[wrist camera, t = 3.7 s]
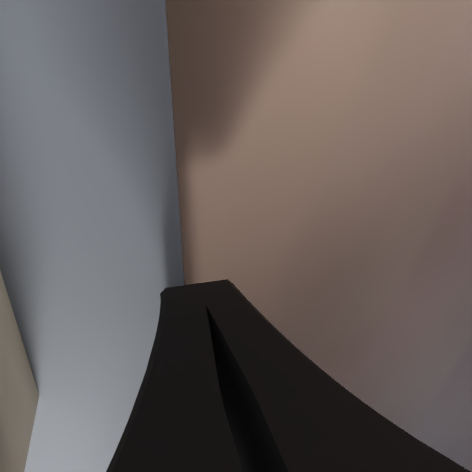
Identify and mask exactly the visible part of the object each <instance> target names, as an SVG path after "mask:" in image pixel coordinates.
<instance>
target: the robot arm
mask: <svg viewBox="0 0 472 472" xmlns="http://www.w3.org/2000/svg"><path fill="white" fill-rule="evenodd" d="M160 299H161V303H160V314H159V321H158V326H157V331H156V335H155V340H154V343H153V347H152V350H151V354H150V358H149V361H148V365H147V368H146V372H145V375H144V378H143V381H142V383H141V386H140V389H139V392H138V395H137V397H136V400H135V403H134V406H133V409H132V411H131V414H130V417H129V419H128V422H127V424H126V427H125V429H124V432H123V434H122V437H121V439H120V441H119V444H118V446H117V448H116V451H115V453H114V455H113V457H112V460H111V462H110V464H109V466H108V469H107V471H106V472H470V471H469V470H467V469H465V468H464V467H462V466H460V465H459V464H457V463H455V462H454V461H452V460H450V459H449V458H447V457H445V456H444V455H442V454H440V453H439V452H437V451H435V450H434V449H432V448H431V447H429V446H427V445H426V444H424V443H422V442H421V441H419V440H417V439H416V438H414V437H413V436H411V435H410V434H408V433H407V432H405V431H404V430H402V429H401V428H399V427H398V426H396V425H395V424H393V423H392V422H390V421H389V420H387V419H386V418H385V417H383V416H382V415H380V414H379V413H378V412H376V411H375V410H373V409H372V408H371V407H369V406H368V405H366V404H365V403H364V402H362V401H361V400H360V399H358V398H357V397H356V396H354V395H353V394H352V393H350V392H349V391H348V390H346V389H345V388H344V387H343V386H341V385H340V384H339V383H337V382H336V381H335V380H334V379H333V378H331V377H330V376H329V375H328V374H327V373H325V372H324V371H323V370H322V369H320V368H319V367H318V366H317V365H316V364H314V363H313V362H312V361H311V360H310V359H309V358H308V357H306V356H305V355H304V354H303V353H302V352H301V351H300V350H298V349H297V348H296V347H295V346H294V345H293V344H292V343H291V342H290V341H289V340H288V339H287V338H286V337H284V336H283V335H282V334H281V333H280V332H279V331H278V330H277V329H276V328H275V327H274V326H273V325H272V324H271V323H270V322H269V321H268V320H267V319H266V318H265V317H264V316H263V315H262V314H261V313H260V312H259V311H258V310H257V309H256V308H255V307H254V306H253V305H252V304H251V303H250V302H249V301H248V300H247V299H246V298H245V296H244V295H243V294H242V293H241V292H240V291H239V290H238V289H237V288H236V287H235V286H234V284H233V283H231V282H230V281H229V280H221V281H213V282H206V283H198V284H191V285H183V286H176V287H168V288H165V289H164V290H163V291H162V292H161V293H160Z"/></svg>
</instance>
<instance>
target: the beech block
mask: <svg viewBox="0 0 472 472" xmlns="http://www.w3.org/2000/svg"><path fill="white" fill-rule="evenodd" d="M38 400H39V393H38V390H37V386H36V383H35V380H34V377H33V374H32V370H31V367H30V364H29V361H28V358H27V354H26V351H25V348H24V345H23V342H22V338H21V335H20V332H19V329H18V326H17V322H16V319H15V316H14V313H13V310H12V306H11V303H10V300H9V297H8V294H7V290H6V287H5V284H4V281H3V278H2V274H1V271H0V472H24V470H25V465H26V460H27V455H28V450H29V445H30V440H31V435H32V430H33V425H34V420H35V415H36V410H37V405H38Z"/></svg>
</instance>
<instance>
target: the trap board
mask: <svg viewBox="0 0 472 472" xmlns="http://www.w3.org/2000/svg"><path fill="white" fill-rule="evenodd" d="M0 271H1V274H2V278H3V281H4V284H5V287H6V290H7V294H8V297H9V300H10V303H11V306H12V310H13V313H14V316H15V319H16V322H17V326H18V329H19V332H20V335H21V338H22V342H23V345H24V348H25V351H26V354H27V358H28V361H29V364H30V367H31V370H32V374H33V377H34V380H35V383H36V386H37V390H38V393H39V400H38V405H37V410H36V415H35V420H34V425H33V430H32V435H31V440H30V445H29V450H28V455H27V460H26V465H25V470H24V472H106V471H107V469H108V466H109V464H110V462H111V460H112V457H113V455H114V453H115V451H116V448H117V446H118V444H119V441H120V439H121V437H122V434H123V432H124V429H125V427H126V424H127V422H128V419H129V417H130V414H131V411H132V409H133V406H134V403H135V400H136V397H137V395H138V392H139V389H140V386H141V383H142V381H143V378H144V375H145V372H146V368H147V365H148V361H149V358H150V354H151V350H152V347H153V343H154V340H155V335H156V331H157V326H158V321H159V314H160V303H161V299H160V293H161V292H162V291H163V290H164V289H165V288H168V287H176V286H183V285H184V270H183V255H182V240H181V225H180V210H179V196H178V181H177V166H176V151H175V136H174V121H173V106H172V91H171V77H170V62H169V47H168V32H167V17H166V2H165V0H0Z"/></svg>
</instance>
